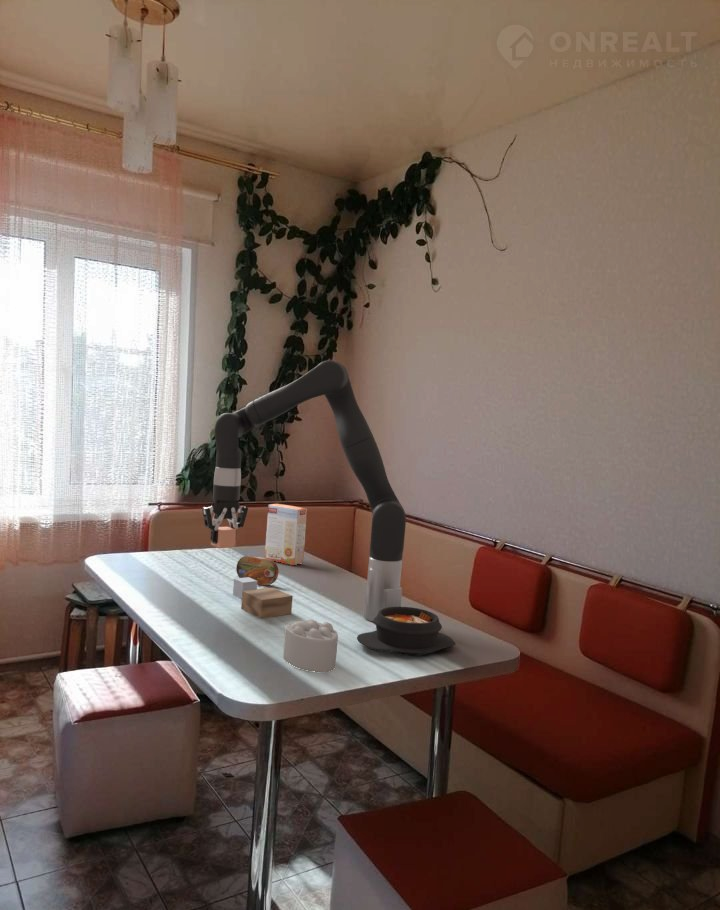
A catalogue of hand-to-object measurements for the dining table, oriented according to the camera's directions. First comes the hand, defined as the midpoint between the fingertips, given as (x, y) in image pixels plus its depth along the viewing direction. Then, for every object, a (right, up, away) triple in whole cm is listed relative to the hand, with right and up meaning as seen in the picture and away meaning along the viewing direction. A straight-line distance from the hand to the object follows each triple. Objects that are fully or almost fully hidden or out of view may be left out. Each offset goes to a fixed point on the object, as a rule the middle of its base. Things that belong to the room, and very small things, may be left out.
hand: (223, 542), depth 203 cm
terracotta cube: (0, -1, 0) cm, 1 cm away
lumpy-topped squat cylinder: (+28, -22, -42) cm, 55 cm away
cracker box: (+11, -15, +60) cm, 63 cm away
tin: (+6, -16, +26) cm, 31 cm away
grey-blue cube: (+5, -17, +9) cm, 20 cm away
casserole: (+50, -23, -26) cm, 61 cm away
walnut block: (+13, -19, -5) cm, 23 cm away
